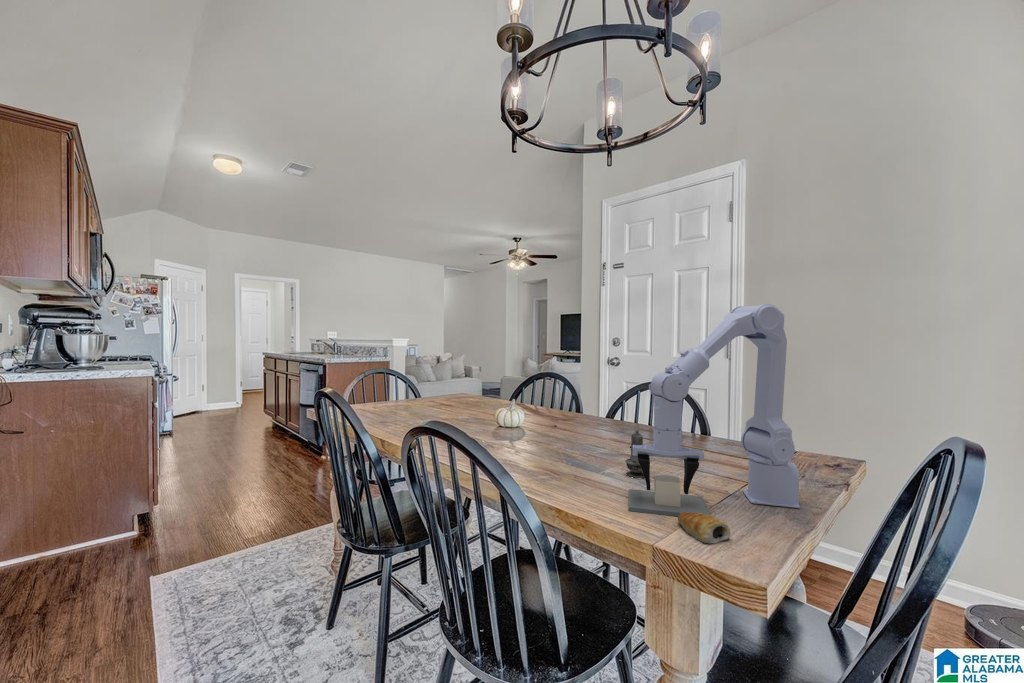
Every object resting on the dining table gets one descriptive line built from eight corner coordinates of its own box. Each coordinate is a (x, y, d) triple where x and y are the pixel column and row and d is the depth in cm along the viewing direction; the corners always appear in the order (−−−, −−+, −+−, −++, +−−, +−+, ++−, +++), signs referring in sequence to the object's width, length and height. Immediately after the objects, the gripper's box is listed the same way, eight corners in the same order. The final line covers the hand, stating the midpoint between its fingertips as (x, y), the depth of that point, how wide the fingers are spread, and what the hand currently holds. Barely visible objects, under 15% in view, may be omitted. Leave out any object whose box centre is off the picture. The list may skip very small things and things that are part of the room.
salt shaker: (649, 479, 109) (650, 433, 109) (625, 478, 110) (626, 431, 110) (646, 472, 115) (647, 428, 114) (624, 471, 116) (624, 427, 116)
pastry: (668, 525, 83) (669, 505, 83) (695, 520, 86) (695, 501, 86) (706, 547, 74) (707, 525, 74) (735, 541, 77) (735, 520, 77)
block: (677, 498, 94) (678, 475, 94) (680, 506, 90) (680, 483, 90) (654, 495, 96) (654, 473, 96) (655, 504, 91) (655, 480, 91)
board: (702, 499, 96) (702, 496, 96) (711, 520, 85) (711, 516, 85) (628, 492, 100) (628, 489, 100) (628, 510, 89) (628, 507, 89)
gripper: (700, 426, 94) (700, 487, 94) (632, 422, 98) (632, 481, 98) (706, 433, 87) (705, 499, 87) (633, 428, 91) (632, 491, 91)
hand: (666, 490), depth 92 cm, fingers open, 7 cm apart
